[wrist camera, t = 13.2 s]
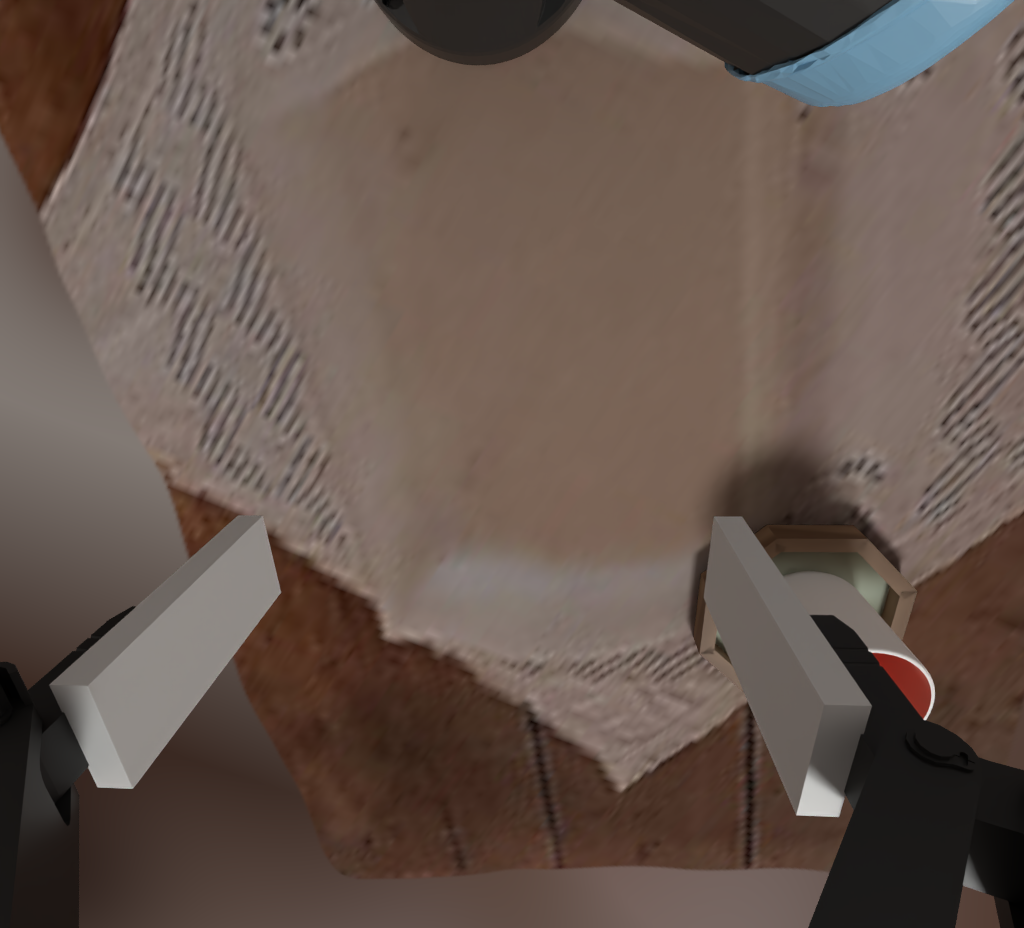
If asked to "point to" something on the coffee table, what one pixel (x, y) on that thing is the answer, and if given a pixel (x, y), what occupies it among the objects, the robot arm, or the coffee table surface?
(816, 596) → the cup
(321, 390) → the coffee table surface
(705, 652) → the tray
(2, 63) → the coffee table surface
